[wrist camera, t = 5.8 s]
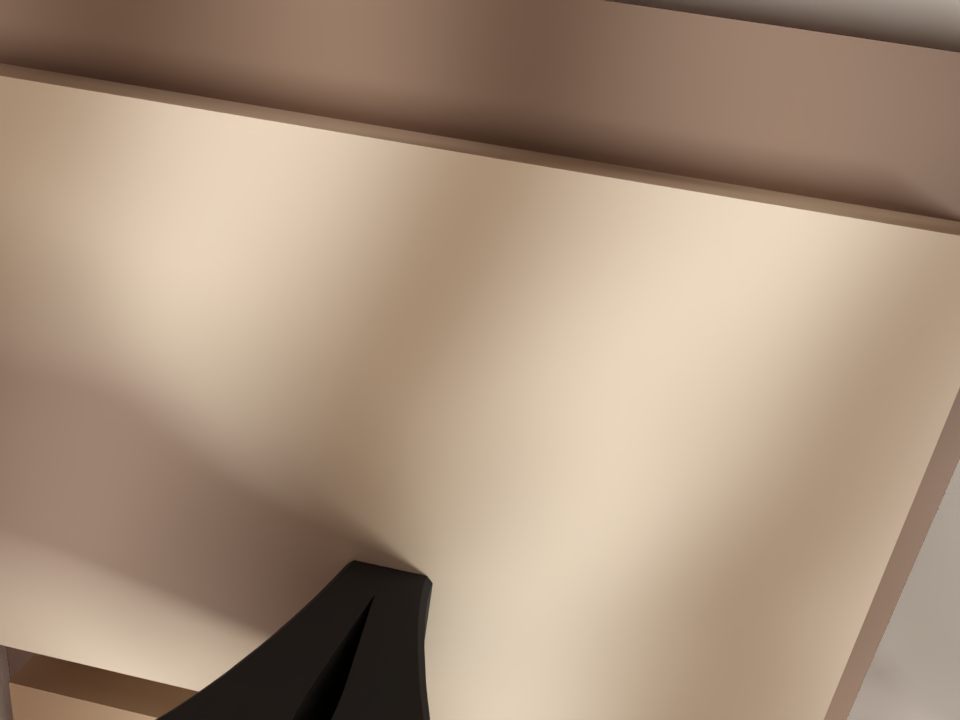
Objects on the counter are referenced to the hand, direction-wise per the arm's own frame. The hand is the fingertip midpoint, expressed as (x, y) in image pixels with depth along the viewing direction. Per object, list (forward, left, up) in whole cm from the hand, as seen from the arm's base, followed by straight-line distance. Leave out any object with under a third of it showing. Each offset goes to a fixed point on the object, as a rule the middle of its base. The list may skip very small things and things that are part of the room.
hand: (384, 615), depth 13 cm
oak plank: (0, -3, -1) cm, 3 cm away
